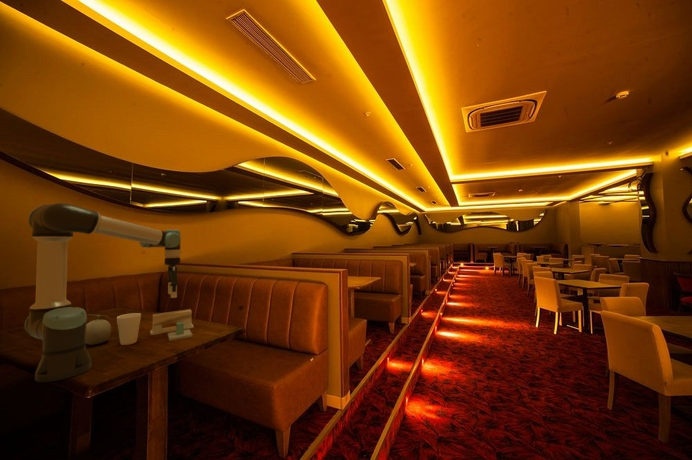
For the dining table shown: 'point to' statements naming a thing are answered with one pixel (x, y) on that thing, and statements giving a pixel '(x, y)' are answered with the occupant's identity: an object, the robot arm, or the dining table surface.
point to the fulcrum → (179, 332)
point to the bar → (172, 317)
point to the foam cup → (128, 328)
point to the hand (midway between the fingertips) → (172, 295)
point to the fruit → (97, 330)
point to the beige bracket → (169, 328)
